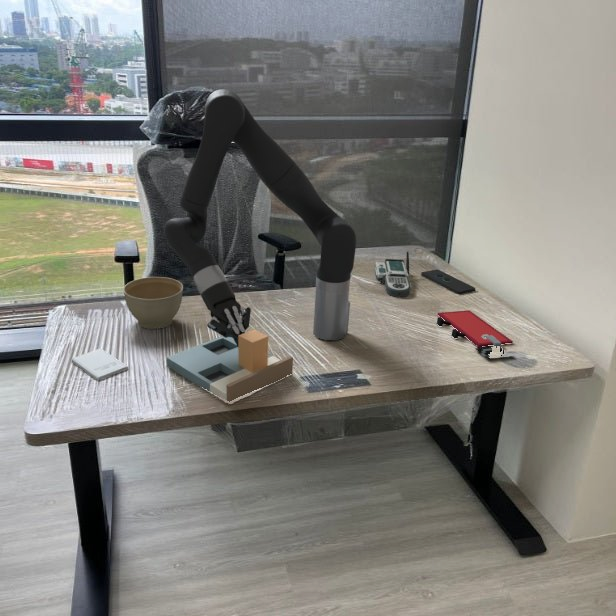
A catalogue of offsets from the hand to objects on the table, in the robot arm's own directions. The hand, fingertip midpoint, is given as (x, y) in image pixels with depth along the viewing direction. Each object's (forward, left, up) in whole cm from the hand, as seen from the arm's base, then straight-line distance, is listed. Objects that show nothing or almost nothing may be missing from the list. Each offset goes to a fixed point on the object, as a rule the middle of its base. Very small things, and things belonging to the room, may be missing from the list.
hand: (245, 348), depth 147 cm
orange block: (0, +3, -3) cm, 5 cm away
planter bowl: (+1, -37, -6) cm, 38 cm away
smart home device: (-92, +2, -7) cm, 93 cm away
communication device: (-76, -10, -6) cm, 77 cm away
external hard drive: (+25, -25, -7) cm, 36 cm away
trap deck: (+3, -2, -6) cm, 7 cm away
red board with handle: (-62, +29, -7) cm, 69 cm away
